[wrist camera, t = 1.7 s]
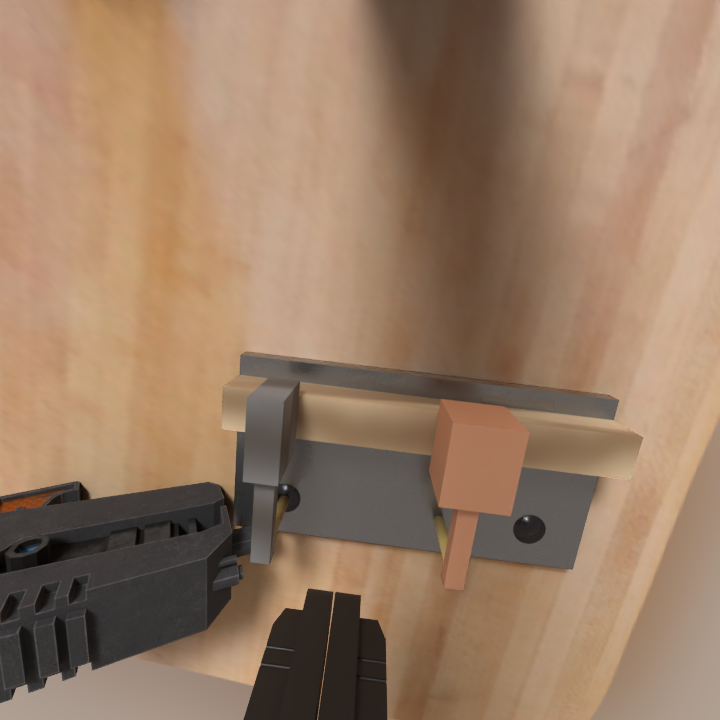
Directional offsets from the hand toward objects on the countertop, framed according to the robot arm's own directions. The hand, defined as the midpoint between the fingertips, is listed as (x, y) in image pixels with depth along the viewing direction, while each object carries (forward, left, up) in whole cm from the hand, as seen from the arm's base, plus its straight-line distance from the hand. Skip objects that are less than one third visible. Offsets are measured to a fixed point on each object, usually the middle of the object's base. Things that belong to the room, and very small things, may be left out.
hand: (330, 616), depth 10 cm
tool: (+11, -16, -19) cm, 27 cm away
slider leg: (+3, +7, -17) cm, 19 cm away
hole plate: (+4, +4, -18) cm, 19 cm away
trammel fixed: (+3, +5, -17) cm, 18 cm away
